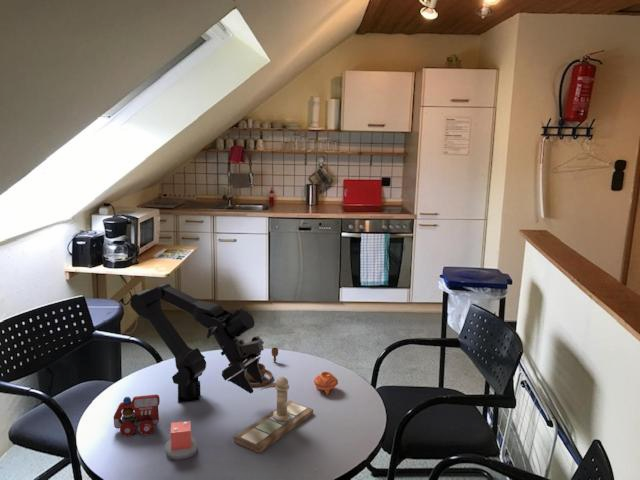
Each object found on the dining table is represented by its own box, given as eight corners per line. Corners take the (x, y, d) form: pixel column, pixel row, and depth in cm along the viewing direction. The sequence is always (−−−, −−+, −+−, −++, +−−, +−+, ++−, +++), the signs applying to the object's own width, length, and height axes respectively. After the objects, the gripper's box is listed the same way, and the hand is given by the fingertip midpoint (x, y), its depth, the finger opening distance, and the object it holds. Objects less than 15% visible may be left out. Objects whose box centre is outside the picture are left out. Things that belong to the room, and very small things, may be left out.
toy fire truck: (117, 424, 156) (115, 391, 154) (161, 421, 158) (160, 388, 156) (112, 438, 149) (110, 403, 147) (159, 434, 152) (158, 400, 150)
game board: (259, 453, 144) (259, 447, 144) (233, 441, 149) (233, 436, 149) (313, 413, 164) (313, 408, 164) (289, 404, 169) (289, 399, 169)
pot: (310, 394, 176) (311, 373, 176) (317, 389, 183) (318, 369, 183) (334, 397, 173) (335, 376, 174) (340, 392, 181) (341, 371, 181)
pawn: (278, 423, 156) (279, 383, 153) (270, 415, 160) (270, 376, 157) (293, 418, 158) (294, 378, 156) (284, 411, 162) (285, 372, 160)
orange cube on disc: (165, 461, 140) (164, 435, 138) (166, 443, 147) (165, 418, 146) (197, 457, 142) (196, 431, 140) (196, 440, 149) (195, 415, 148)
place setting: (226, 374, 190) (226, 359, 188) (275, 361, 202) (275, 346, 200) (252, 395, 176) (252, 378, 175) (302, 378, 188) (303, 363, 187)
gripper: (239, 336, 152) (269, 383, 151) (260, 323, 170) (287, 365, 169) (208, 356, 154) (238, 403, 153) (232, 341, 172) (258, 383, 171)
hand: (257, 387), depth 161 cm, fingers open, 9 cm apart
